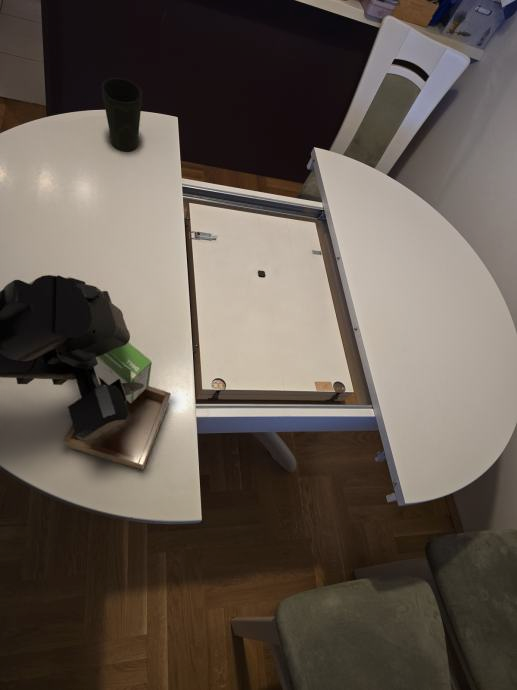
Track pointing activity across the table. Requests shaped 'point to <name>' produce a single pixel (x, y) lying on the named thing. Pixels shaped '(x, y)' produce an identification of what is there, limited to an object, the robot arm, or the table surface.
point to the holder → (128, 431)
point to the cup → (122, 112)
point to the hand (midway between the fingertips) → (132, 360)
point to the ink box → (125, 368)
